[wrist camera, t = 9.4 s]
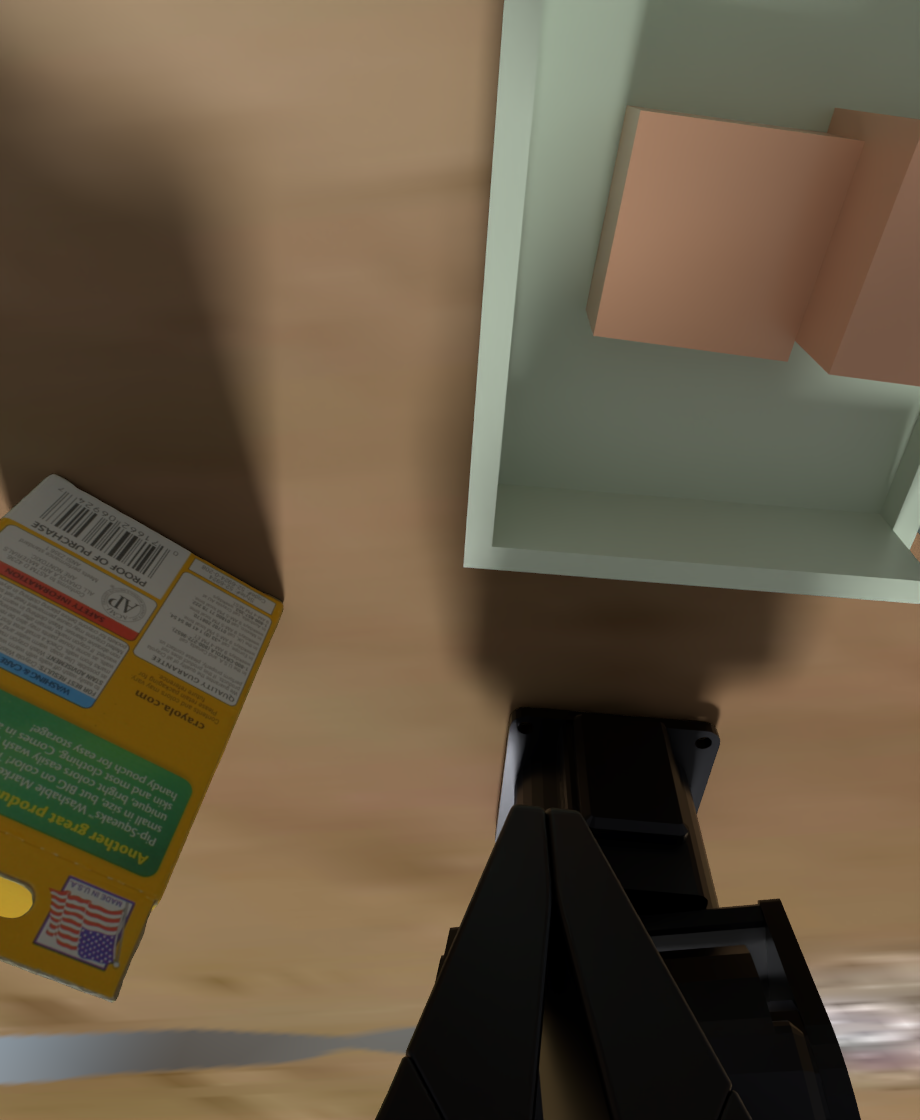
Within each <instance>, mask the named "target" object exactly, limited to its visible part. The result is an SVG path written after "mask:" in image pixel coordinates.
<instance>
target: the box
mask: <svg viewBox="0 0 920 1120" xmlns="http://www.w3.org/2000/svg"><path fill="white" fill-rule="evenodd" d="M627 105H630V106H638V107H645V108H652V109H659V110H667V111H674V112H681V113H688V114H696V115H703V116H710V117H717V118H725V119H732V120H739V121H746V122H754V123H761V124H768V125H775V126H783V127H790V128H797V129H804V130H812V131H819V132H826V133H827V131H828V128H829V125H830V121H831V118H832V115H833V112H834V109H835V108H842V109H849V110H856V111H863V112H871V113H878V114H885V115H892V116H899V117H907V118H914V119H920V0H504V11H503V25H502V39H501V53H500V67H499V80H498V94H497V108H496V122H495V136H494V150H493V164H492V177H491V191H490V205H489V219H488V233H487V247H486V261H485V274H484V288H483V302H482V316H481V330H480V344H479V358H478V372H477V385H476V399H475V413H474V427H473V441H472V455H471V469H470V482H469V496H468V510H467V524H466V538H465V552H464V566H463V567H468V568H480V569H493V570H505V571H518V572H530V573H542V574H555V575H567V576H580V577H592V578H604V579H617V580H629V581H642V582H654V583H666V584H679V585H691V586H704V587H716V588H729V589H741V590H753V591H766V592H778V593H791V594H803V595H815V596H828V597H840V598H853V599H865V600H877V601H890V602H902V603H915V604H920V563H919V561H918V560H917V559H916V558H915V557H914V555H913V554H912V553H911V552H910V548H911V545H912V543H913V541H914V538H915V536H916V534H917V532H918V529H919V527H920V387H919V386H911V385H904V384H896V383H889V382H881V381H874V380H867V379H859V378H852V377H844V376H837V375H829V374H828V373H827V372H826V371H825V370H824V369H823V368H822V367H821V366H820V365H819V364H818V363H817V362H816V361H815V360H814V359H813V358H812V357H811V356H810V355H809V354H808V353H807V352H806V351H805V350H804V349H803V348H802V347H801V346H800V345H799V344H798V343H797V342H796V341H795V342H794V345H793V348H792V351H791V354H790V356H789V359H788V362H785V361H778V360H770V359H763V358H755V357H748V356H741V355H733V354H726V353H718V352H711V351H703V350H696V349H688V348H681V347H673V346H666V345H658V344H651V343H643V342H636V341H628V340H621V339H613V338H606V337H599V336H593V333H592V330H591V326H590V323H589V319H588V316H587V313H586V305H587V300H588V295H589V290H590V285H591V280H592V275H593V270H594V265H595V260H596V255H597V250H598V245H599V240H600V235H601V231H602V226H603V221H604V216H605V211H606V206H607V201H608V196H609V191H610V186H611V181H612V176H613V171H614V166H615V161H616V156H617V151H618V146H619V141H620V136H621V131H622V126H623V121H624V116H625V111H626V106H627Z"/></svg>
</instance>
